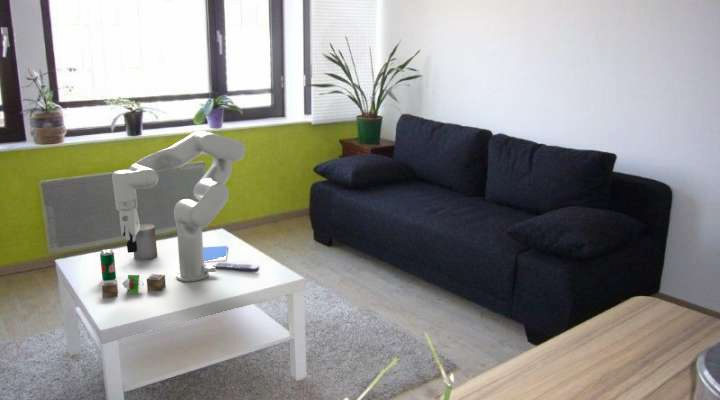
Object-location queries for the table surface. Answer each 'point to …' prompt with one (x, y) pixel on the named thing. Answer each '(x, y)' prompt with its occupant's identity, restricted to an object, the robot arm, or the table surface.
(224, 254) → the tablet computer
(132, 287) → the geometric puzzle
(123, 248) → the table surface
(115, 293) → the marked block 1
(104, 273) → the soda can
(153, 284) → the marked block 2
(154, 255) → the pillar candle
